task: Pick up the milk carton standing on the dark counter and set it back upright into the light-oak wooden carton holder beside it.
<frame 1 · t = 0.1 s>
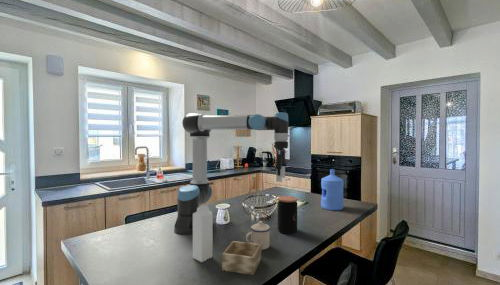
hand: (280, 179, 140), 28 cm above the kitchen island, fingers open, 13 cm apart
milk: (202, 258, 108), on the kitchen island
teacup with lid: (257, 247, 119), on the kitchen island
holder: (242, 264, 103), on the kitchen island
water jug: (331, 207, 186), on the kitchen island
coffee jar: (287, 231, 140), on the kitchen island
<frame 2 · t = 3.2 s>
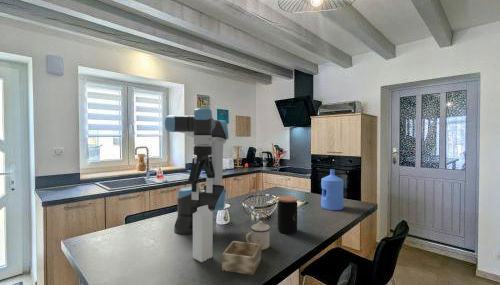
hand: (202, 196, 107), 26 cm above the kitchen island, fingers open, 13 cm apart
nothing on the kitchen island moved.
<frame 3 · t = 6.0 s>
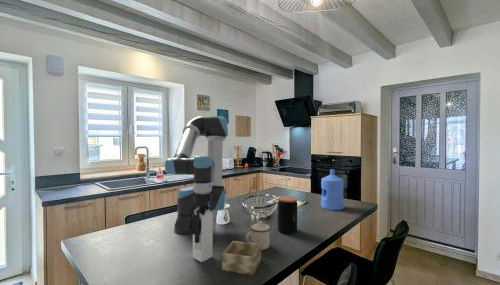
hand: (202, 245, 108), 5 cm above the kitchen island, fingers closed on milk, 8 cm apart
milk: (202, 258, 108), on the kitchen island, touching gripper
everything else where it was.
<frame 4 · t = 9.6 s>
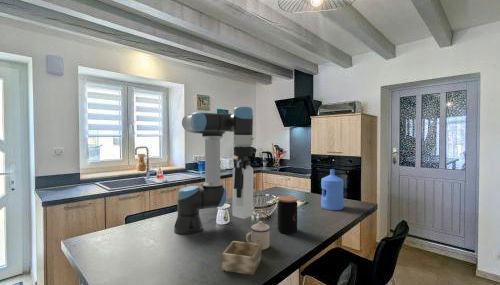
hand: (242, 202, 102), 25 cm above the kitchen island, fingers closed on milk, 8 cm apart
milk: (242, 216, 102), point 20 cm above the kitchen island, touching gripper
everything else where it was.
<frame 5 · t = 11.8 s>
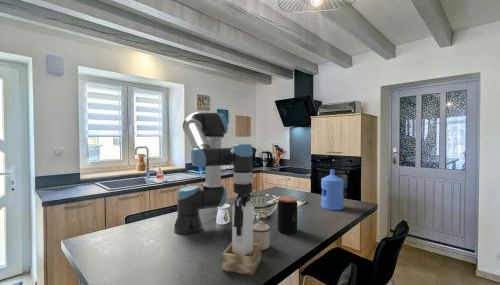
hand: (242, 238, 102), 10 cm above the kitchen island, fingers closed on milk, 8 cm apart
milk: (242, 252, 102), point 5 cm above the kitchen island, touching gripper
everything else where it was.
when the fingers open (8 cm above the kitchen island, at t = 13.4 s): milk drops 2 cm, resting on holder.
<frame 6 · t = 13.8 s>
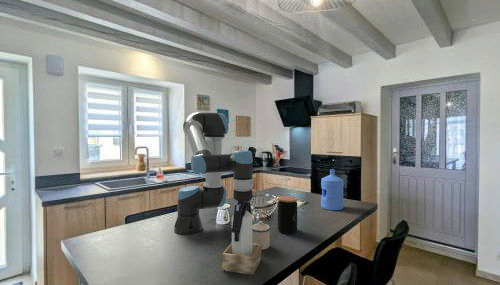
hand: (242, 242, 102), 9 cm above the kitchen island, fingers open, 13 cm apart
milk: (242, 262, 103), point 1 cm above the kitchen island, touching holder
everything else where it was.
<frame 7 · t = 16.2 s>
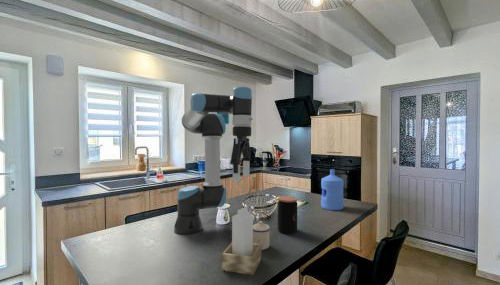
hand: (241, 178, 103), 34 cm above the kitchen island, fingers open, 13 cm apart
nothing on the kitchen island moved.
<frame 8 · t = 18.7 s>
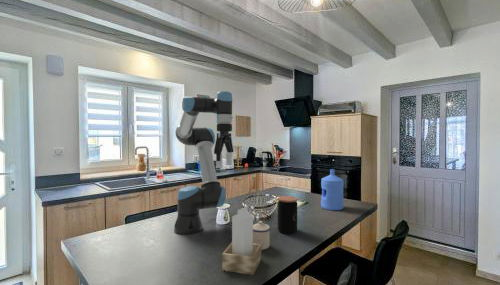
hand: (224, 166, 126), 37 cm above the kitchen island, fingers open, 13 cm apart
nothing on the kitchen island moved.
at the end: milk 0.1 cm off-centre on the holder, point 0.6 cm above the holder's base; milk tilted 0°; the gripper is holding nothing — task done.
